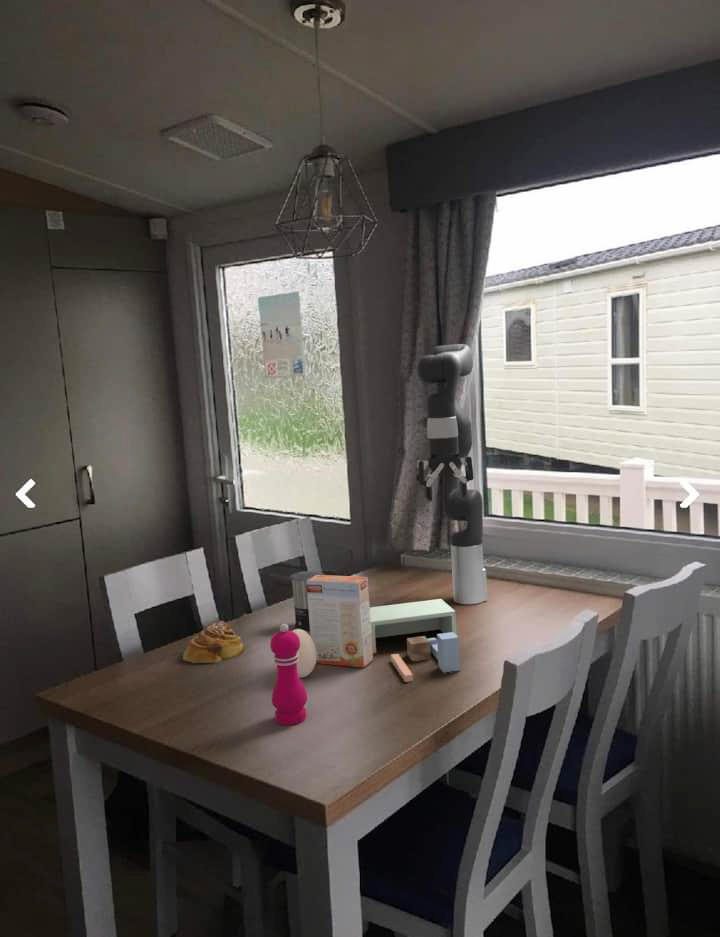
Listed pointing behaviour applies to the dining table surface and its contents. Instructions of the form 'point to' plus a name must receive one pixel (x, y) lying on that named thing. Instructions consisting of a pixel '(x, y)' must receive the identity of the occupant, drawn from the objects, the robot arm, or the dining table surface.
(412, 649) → the walnut cube
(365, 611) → the cracker box
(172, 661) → the dining table surface
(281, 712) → the pepper mill
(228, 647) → the pastry
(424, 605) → the cubby
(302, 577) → the milk frother
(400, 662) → the straight stick
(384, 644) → the dining table surface
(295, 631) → the egg
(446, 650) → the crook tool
